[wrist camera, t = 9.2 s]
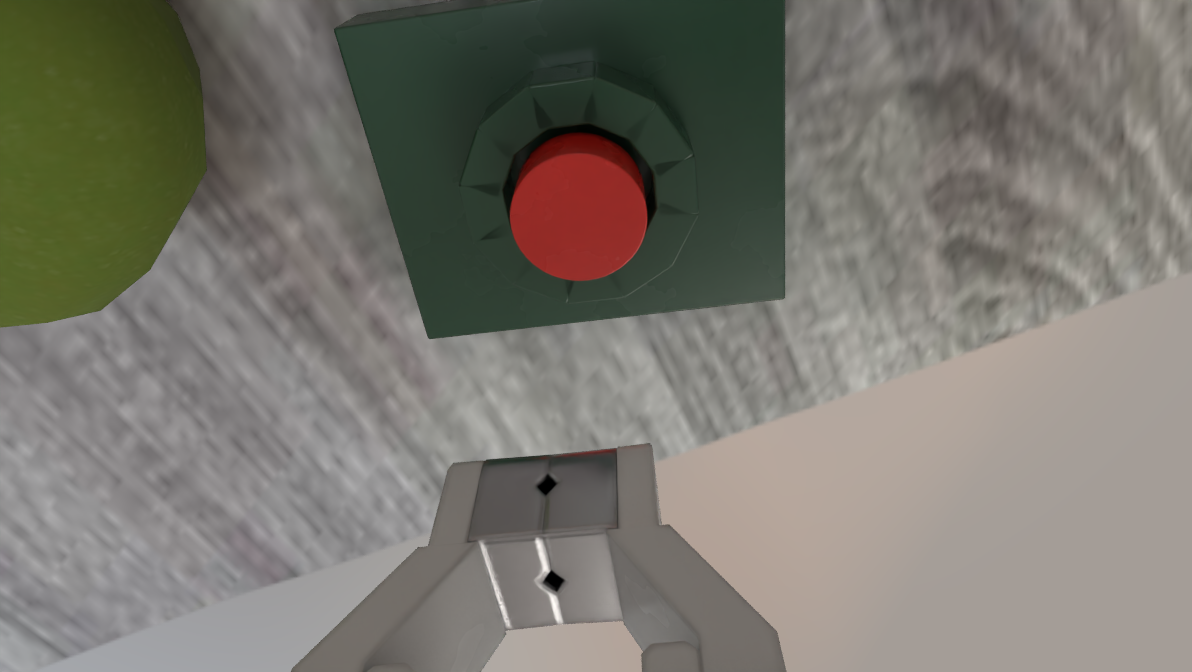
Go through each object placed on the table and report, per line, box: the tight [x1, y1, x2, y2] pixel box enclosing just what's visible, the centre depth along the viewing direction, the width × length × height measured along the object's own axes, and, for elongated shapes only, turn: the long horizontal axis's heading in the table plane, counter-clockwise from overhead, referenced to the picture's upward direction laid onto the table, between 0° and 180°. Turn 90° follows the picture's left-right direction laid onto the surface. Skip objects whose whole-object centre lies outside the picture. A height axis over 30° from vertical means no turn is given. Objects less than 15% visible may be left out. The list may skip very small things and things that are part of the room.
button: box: [510, 132, 647, 281], centre depth 20 cm, size 4×4×2 cm
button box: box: [334, 0, 785, 339], centre depth 22 cm, size 12×10×4 cm
